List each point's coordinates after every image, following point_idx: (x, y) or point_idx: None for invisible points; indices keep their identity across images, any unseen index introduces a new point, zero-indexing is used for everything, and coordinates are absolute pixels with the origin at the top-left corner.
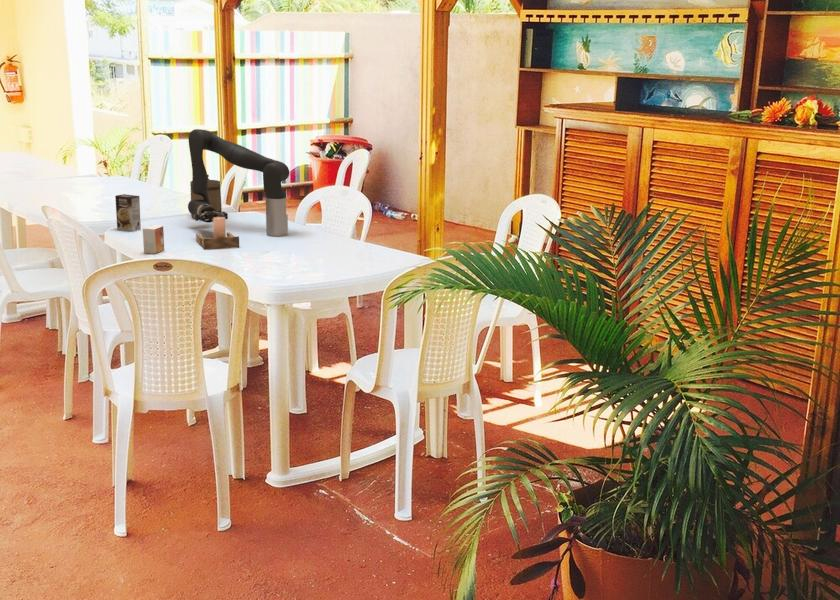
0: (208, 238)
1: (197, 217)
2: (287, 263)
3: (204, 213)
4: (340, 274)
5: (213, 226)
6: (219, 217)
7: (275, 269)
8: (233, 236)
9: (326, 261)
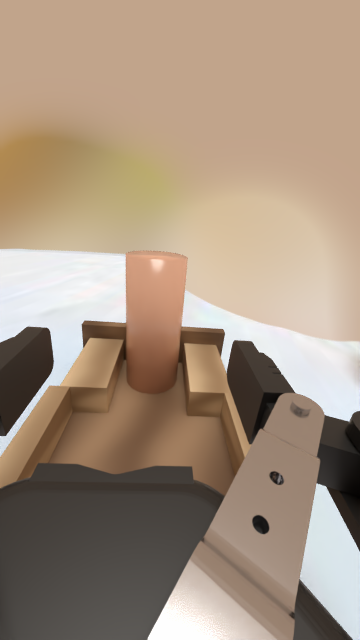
0: (205, 330)
1: (346, 431)
2: (82, 277)
3: (261, 431)
4: (60, 256)
5: (183, 302)
6: (153, 257)
7: (119, 272)
8: (55, 386)
9: (15, 270)
